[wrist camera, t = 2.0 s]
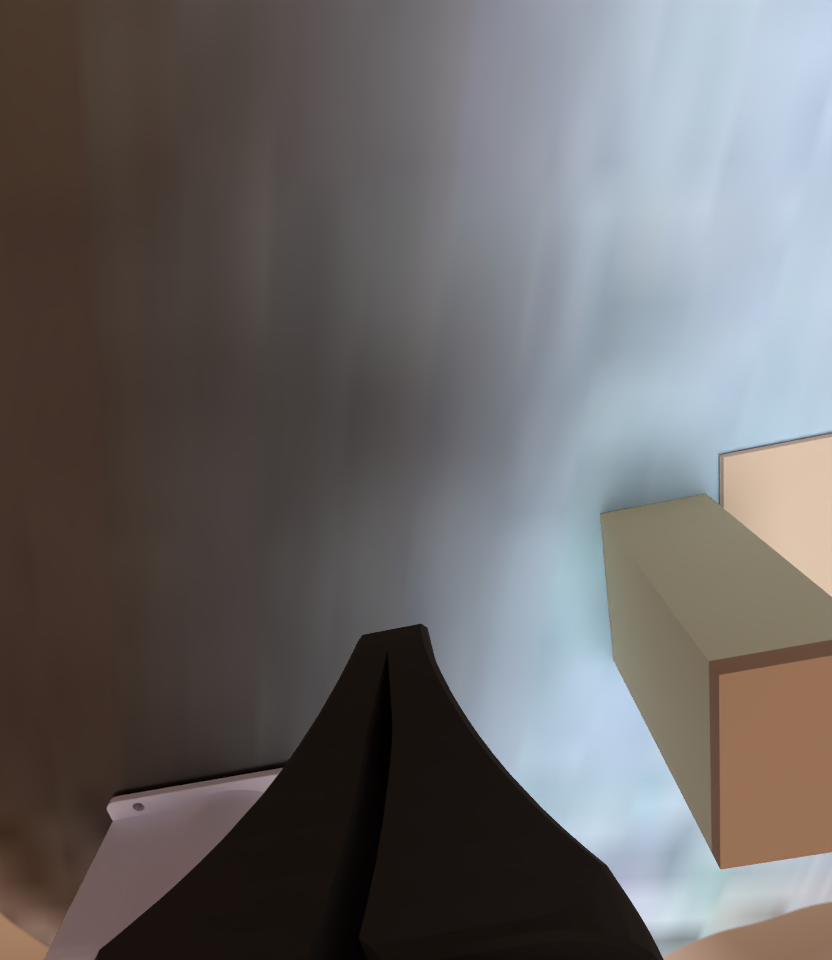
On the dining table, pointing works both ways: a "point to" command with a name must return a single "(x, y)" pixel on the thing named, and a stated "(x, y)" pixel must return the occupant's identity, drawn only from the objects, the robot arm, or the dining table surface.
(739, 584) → the sage block
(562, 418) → the dining table surface
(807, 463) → the mat
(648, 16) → the dining table surface
